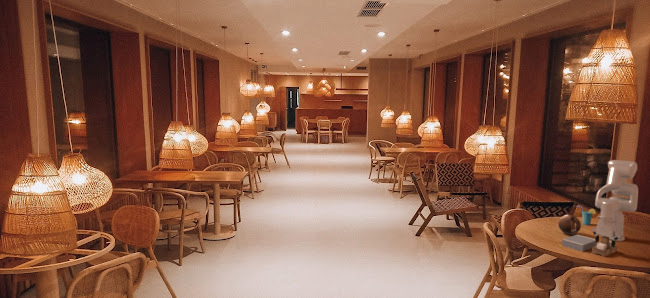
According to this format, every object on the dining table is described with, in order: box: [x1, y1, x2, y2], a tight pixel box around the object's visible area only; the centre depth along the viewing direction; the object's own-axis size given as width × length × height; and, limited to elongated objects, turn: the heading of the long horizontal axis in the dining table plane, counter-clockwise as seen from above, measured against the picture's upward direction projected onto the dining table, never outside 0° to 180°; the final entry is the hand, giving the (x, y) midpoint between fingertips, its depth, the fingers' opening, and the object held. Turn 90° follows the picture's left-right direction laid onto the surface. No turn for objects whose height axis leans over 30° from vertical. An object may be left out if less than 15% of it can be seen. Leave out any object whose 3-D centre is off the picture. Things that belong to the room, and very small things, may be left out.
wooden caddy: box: [591, 236, 618, 258], centre depth 285 cm, size 17×8×11 cm, turn 122°
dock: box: [561, 234, 598, 252], centre depth 299 cm, size 20×14×5 cm
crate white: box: [597, 242, 606, 251], centre depth 283 cm, size 4×4×4 cm
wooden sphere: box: [557, 214, 582, 236], centre depth 324 cm, size 15×15×15 cm
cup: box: [576, 205, 597, 226], centre depth 349 cm, size 14×8×15 cm, turn 55°
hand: (604, 243), depth 285 cm, fingers open, 9 cm apart
